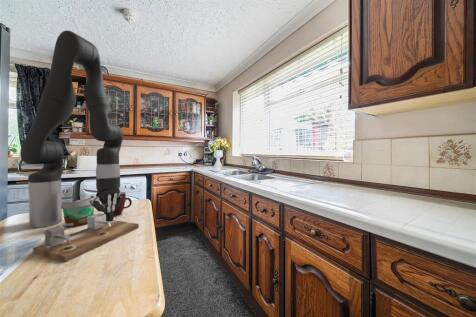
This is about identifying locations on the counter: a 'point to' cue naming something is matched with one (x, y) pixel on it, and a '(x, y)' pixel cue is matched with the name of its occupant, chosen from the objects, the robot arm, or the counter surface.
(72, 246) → the hole board
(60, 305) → the counter surface
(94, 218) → the leg
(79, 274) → the counter surface
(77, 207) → the food container
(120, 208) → the mug
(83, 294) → the counter surface
